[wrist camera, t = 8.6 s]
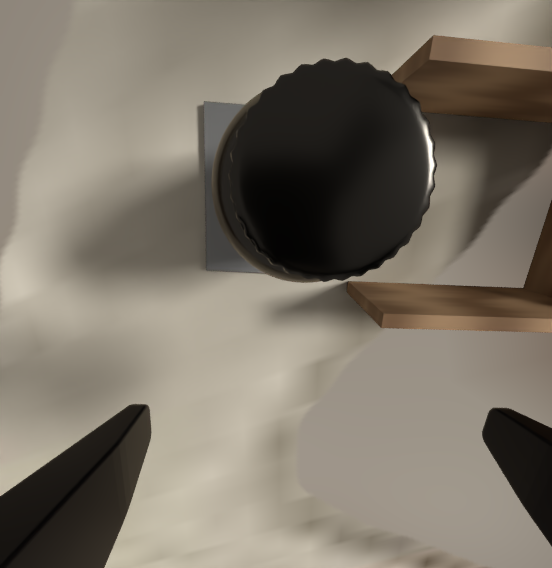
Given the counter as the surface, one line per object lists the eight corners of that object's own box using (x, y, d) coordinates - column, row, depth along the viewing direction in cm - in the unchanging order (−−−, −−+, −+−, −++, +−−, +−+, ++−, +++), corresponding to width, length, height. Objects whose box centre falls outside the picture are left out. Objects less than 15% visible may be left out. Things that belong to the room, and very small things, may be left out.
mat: (370, 117, 17) (373, 115, 17) (349, 274, 20) (351, 276, 19) (205, 103, 16) (203, 101, 16) (207, 269, 19) (206, 270, 19)
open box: (591, 111, 18) (752, 68, 12) (529, 298, 21) (630, 334, 15) (373, 92, 17) (433, 35, 11) (346, 291, 20) (381, 327, 14)
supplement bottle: (360, 173, 18) (551, 118, 6) (306, 266, 19) (378, 365, 8) (263, 113, 16) (273, -99, 5) (214, 219, 18) (133, 250, 6)
